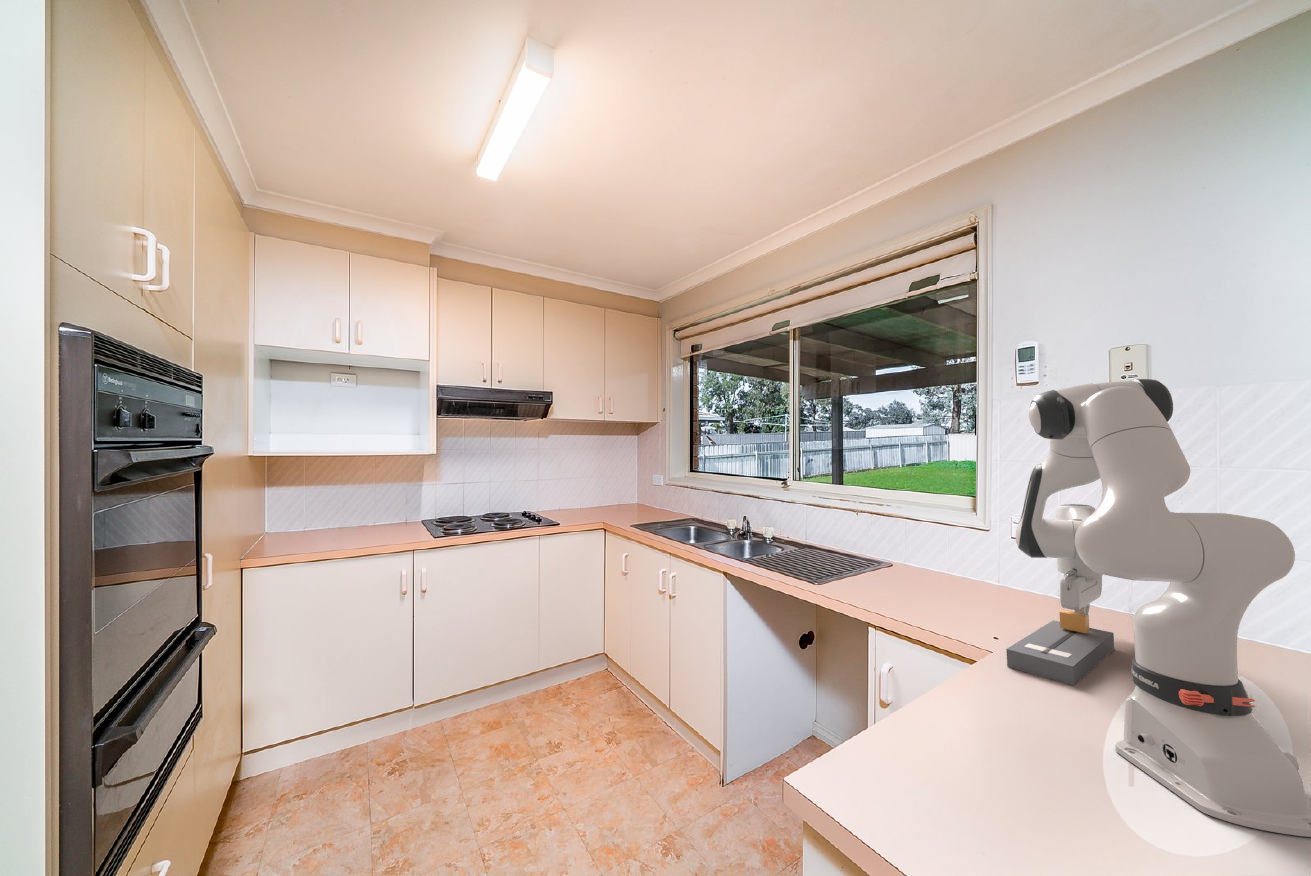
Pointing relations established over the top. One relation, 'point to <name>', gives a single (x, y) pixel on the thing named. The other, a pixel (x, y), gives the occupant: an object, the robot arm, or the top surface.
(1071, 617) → the fader knob
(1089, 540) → the robot arm
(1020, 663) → the fader console
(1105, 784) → the top surface
